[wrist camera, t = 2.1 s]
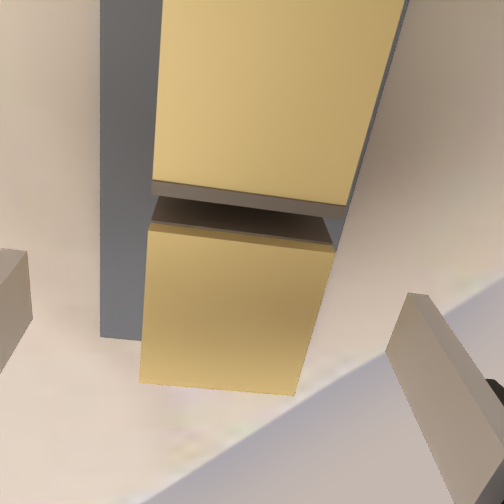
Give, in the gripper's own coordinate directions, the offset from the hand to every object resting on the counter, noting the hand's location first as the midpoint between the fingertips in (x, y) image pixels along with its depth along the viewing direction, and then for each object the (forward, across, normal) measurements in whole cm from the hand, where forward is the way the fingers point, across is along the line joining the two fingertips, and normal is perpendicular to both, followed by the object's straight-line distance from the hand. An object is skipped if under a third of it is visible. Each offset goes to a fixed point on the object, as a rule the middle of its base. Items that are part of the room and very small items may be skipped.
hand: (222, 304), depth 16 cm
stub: (+11, 0, 0) cm, 11 cm away
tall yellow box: (+11, 0, +9) cm, 14 cm away
